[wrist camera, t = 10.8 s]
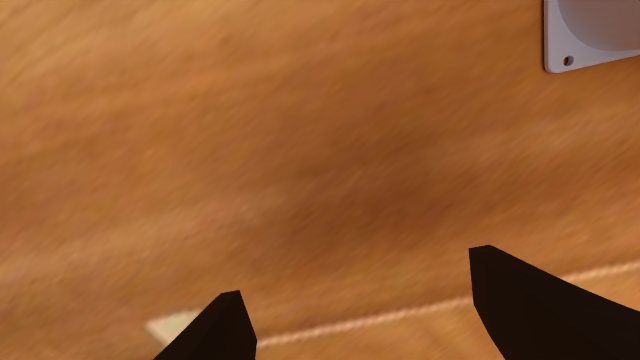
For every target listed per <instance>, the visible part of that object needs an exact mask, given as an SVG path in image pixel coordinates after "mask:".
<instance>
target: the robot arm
mask: <svg viewBox="0 0 640 360" xmlns="http://www.w3.org/2000/svg"><path fill="white" fill-rule="evenodd" d="M637 55H640V0H544V66H545V69H546V71H547V72H549V73H560V72H565V71H569V70H574V69H578V68H583V67H587V66H592V65H597V64H601V63H606V62H610V61H615V60H619V59H624V58H628V57H633V56H637ZM565 57H568V63H567V64H566V65H564V63H563V61H564V59H565ZM469 259H470V270H471V281H472V291H473V302H474V306H475V308H476V310H477V312H478V314H479V316H480V318H481V320H482V322H483V324H484V326H485V328H486V330H487V332H488V334H489V335H490V337H491V339H492V340H493V342H494V343H495V345H496V346H497V348H498V349H499V351H500V352H501V354H502V355H503V357H504V358H505V360H640V311H637V310H634V309H631V308H629V307H626V306H623V305H621V304H618V303H616V302H613V301H611V300H608V299H606V298H603V297H601V296H599V295H596V294H594V293H592V292H589V291H587V290H584V289H582V288H580V287H577V286H575V285H573V284H571V283H569V282H566V281H564V280H562V279H560V278H558V277H555V276H553V275H551V274H549V273H547V272H545V271H543V270H541V269H539V268H537V267H535V266H533V265H530V264H528V263H526V262H524V261H522V260H520V259H518V258H516V257H514V256H512V255H510V254H508V253H506V252H504V251H502V250H500V249H498V248H496V247H494V246H491V245H485V246H479V247H474V248H469ZM256 346H257V338H256V336H255V333H254V330H253V327H252V324H251V321H250V319H249V316H248V313H247V310H246V307H245V305H244V302H243V299H242V296H241V293H240V290H236V291H231V292H225V293H221V294H220V295H219V296H218V297H216V298H215V299H214V300H213V301H212V302H211V303H210V304H209V305H208V306H207V307H206V308H205V309H204V310H203V311H202V312H201V313H200V314H199V315H198V316H197V317H196V318H195V319H194V320H193V321H192V322H191V323H190V324H189V325H188V326H187V327H186V328H185V329H184V330H183V331H182V332H181V333H180V334H179V335H178V336H177V337H176V338H175V339H174V340H173V341H172V342H171V343H170V344H169V345H168V346H167V347H166V348H165V349H164V350H163V351H162V352H160V353H159V354H158V355H157V356H156V357H155V358H154V359H153V360H255V355H256Z"/></svg>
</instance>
